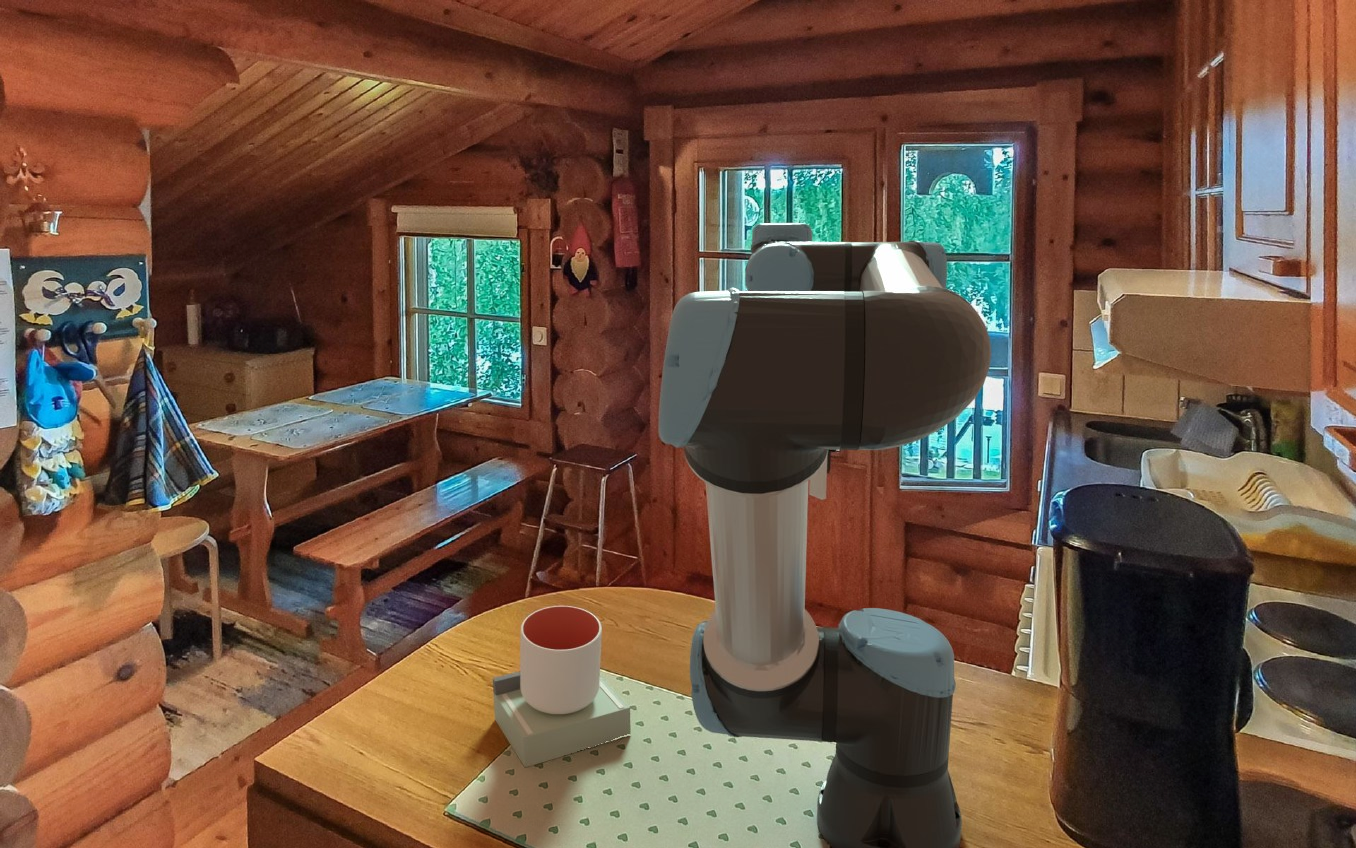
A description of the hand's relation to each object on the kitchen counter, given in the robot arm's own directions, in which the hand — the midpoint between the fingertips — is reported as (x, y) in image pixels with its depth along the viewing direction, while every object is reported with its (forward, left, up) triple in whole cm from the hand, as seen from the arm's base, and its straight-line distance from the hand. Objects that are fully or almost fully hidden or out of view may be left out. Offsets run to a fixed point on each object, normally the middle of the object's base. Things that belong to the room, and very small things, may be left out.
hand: (777, 505), depth 121 cm
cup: (+5, +30, -22) cm, 37 cm away
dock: (+5, +30, -27) cm, 40 cm away
